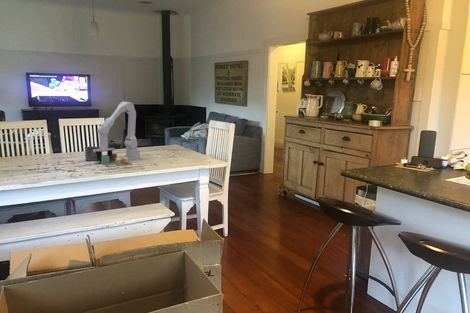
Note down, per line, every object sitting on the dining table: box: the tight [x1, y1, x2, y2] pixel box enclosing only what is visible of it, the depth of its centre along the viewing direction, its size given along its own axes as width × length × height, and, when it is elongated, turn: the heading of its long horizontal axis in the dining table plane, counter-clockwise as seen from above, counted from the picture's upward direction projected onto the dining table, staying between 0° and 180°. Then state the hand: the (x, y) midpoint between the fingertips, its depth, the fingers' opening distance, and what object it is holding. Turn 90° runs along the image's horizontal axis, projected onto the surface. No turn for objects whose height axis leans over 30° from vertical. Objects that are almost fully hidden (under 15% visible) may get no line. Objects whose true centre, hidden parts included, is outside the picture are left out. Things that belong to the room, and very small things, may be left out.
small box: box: [84, 145, 103, 162], centre depth 265 cm, size 11×6×10 cm, turn 74°
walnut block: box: [106, 152, 118, 162], centre depth 265 cm, size 6×6×6 cm
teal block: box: [99, 154, 111, 165], centre depth 257 cm, size 6×6×6 cm
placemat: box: [102, 161, 134, 168], centre depth 253 cm, size 18×14×1 cm
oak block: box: [114, 156, 130, 166], centre depth 254 cm, size 7×7×4 cm
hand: (104, 161), depth 258 cm, fingers closed on teal block, 5 cm apart
